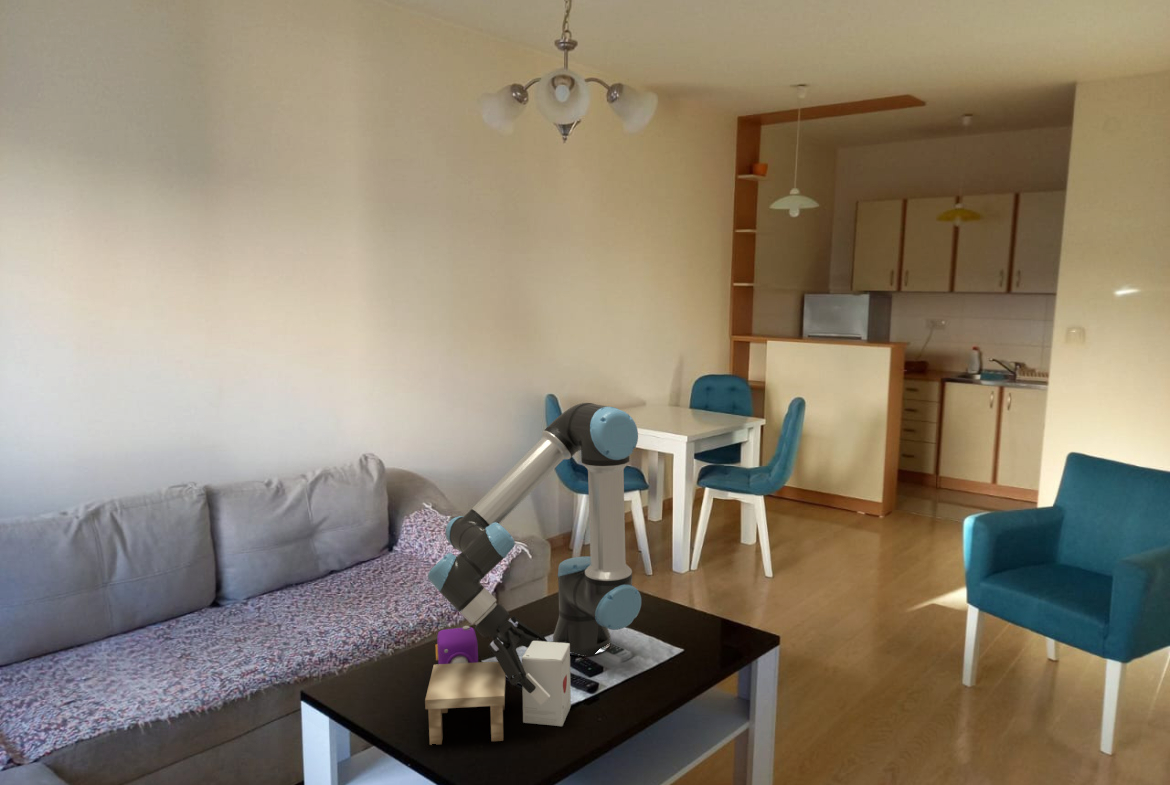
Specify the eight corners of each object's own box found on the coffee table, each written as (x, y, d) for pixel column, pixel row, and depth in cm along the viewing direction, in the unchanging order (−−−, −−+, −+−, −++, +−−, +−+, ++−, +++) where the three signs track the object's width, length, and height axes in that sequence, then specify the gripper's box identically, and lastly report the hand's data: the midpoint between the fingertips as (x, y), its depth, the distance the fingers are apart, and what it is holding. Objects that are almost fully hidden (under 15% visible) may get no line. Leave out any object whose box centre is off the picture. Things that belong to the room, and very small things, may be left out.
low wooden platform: (507, 703, 182) (505, 661, 181) (505, 741, 166) (504, 695, 165) (435, 707, 181) (433, 664, 179) (427, 746, 165) (425, 700, 164)
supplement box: (562, 727, 171) (561, 660, 169) (522, 723, 173) (520, 657, 171) (572, 706, 180) (570, 642, 178) (533, 702, 182) (531, 639, 180)
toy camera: (444, 690, 188) (442, 649, 187) (431, 666, 201) (429, 627, 200) (488, 681, 193) (487, 641, 191) (473, 658, 205) (471, 620, 204)
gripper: (492, 603, 189) (555, 669, 188) (453, 649, 165) (526, 725, 164) (513, 583, 188) (577, 649, 186) (477, 626, 164) (550, 702, 162)
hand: (553, 685), depth 175 cm, fingers open, 13 cm apart
